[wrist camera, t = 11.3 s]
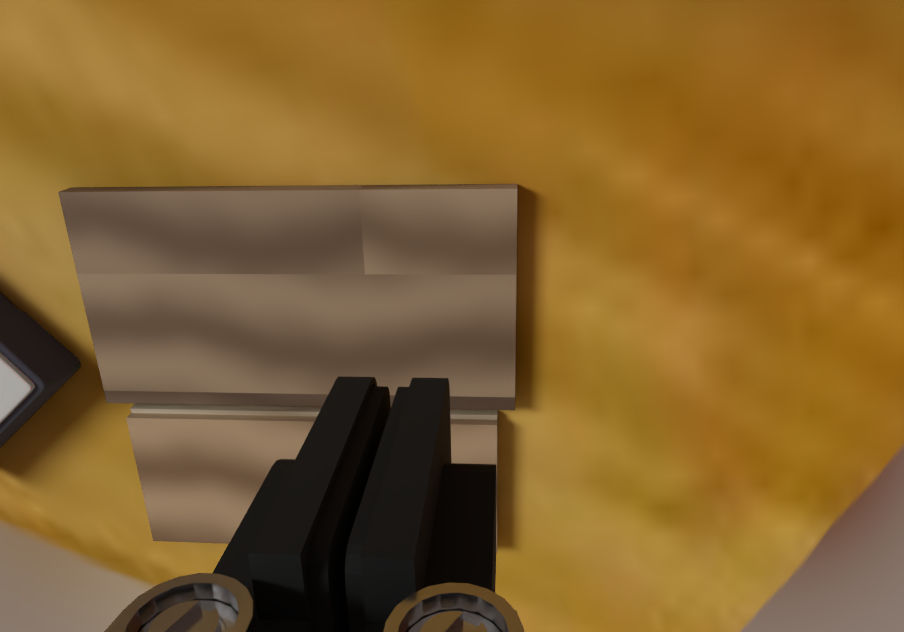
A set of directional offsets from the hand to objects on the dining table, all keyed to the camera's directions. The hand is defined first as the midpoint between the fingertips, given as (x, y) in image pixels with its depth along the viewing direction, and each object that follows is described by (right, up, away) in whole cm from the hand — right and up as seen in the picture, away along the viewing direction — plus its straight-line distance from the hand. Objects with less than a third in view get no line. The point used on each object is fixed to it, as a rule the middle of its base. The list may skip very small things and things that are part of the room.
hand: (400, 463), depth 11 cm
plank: (-7, -7, +33) cm, 34 cm away
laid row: (-8, +3, +29) cm, 30 cm away
